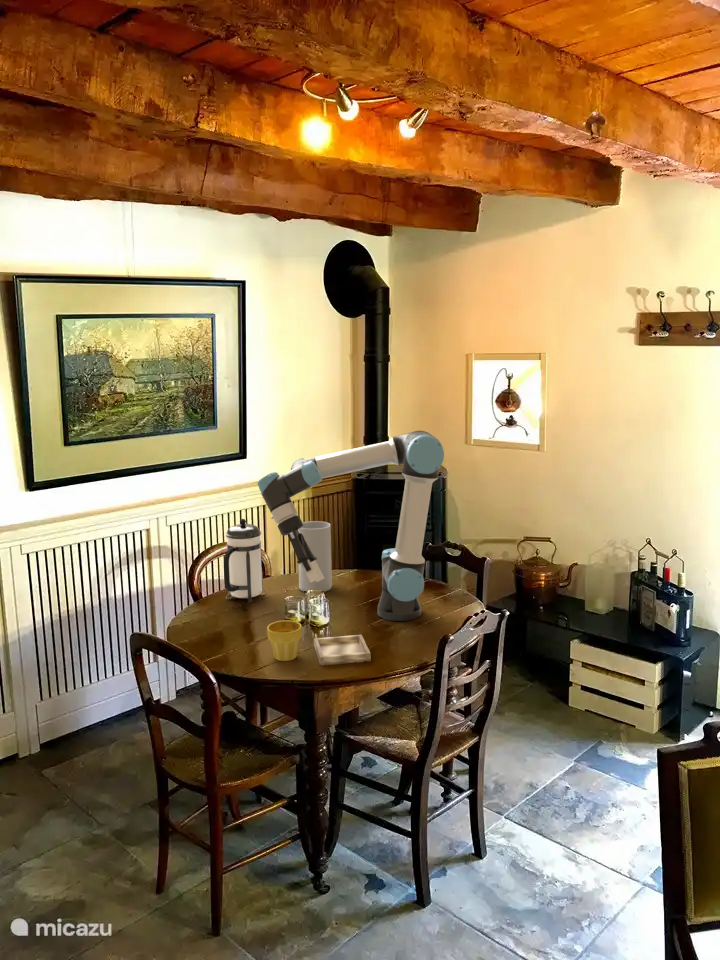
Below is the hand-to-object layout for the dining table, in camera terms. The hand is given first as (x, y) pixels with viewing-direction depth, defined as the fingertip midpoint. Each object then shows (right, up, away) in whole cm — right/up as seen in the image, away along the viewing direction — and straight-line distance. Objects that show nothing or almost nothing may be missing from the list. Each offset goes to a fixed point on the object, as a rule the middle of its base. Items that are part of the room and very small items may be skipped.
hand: (317, 580), depth 240 cm
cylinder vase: (-4, -11, +57) cm, 58 cm away
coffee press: (-29, -13, +47) cm, 57 cm away
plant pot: (-9, -22, -7) cm, 25 cm away
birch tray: (+8, -21, -5) cm, 23 cm away
